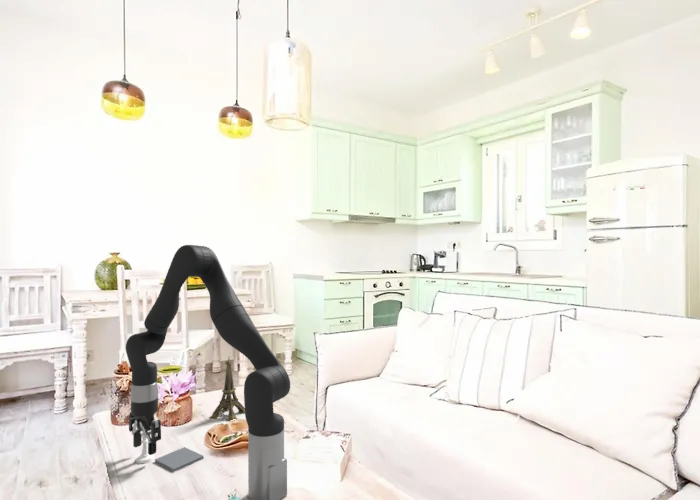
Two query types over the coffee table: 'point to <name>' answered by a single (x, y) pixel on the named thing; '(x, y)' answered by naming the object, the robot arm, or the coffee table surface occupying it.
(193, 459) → the slate tile
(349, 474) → the coffee table surface
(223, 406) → the eiffel tower
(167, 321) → the robot arm
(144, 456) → the chess piece
